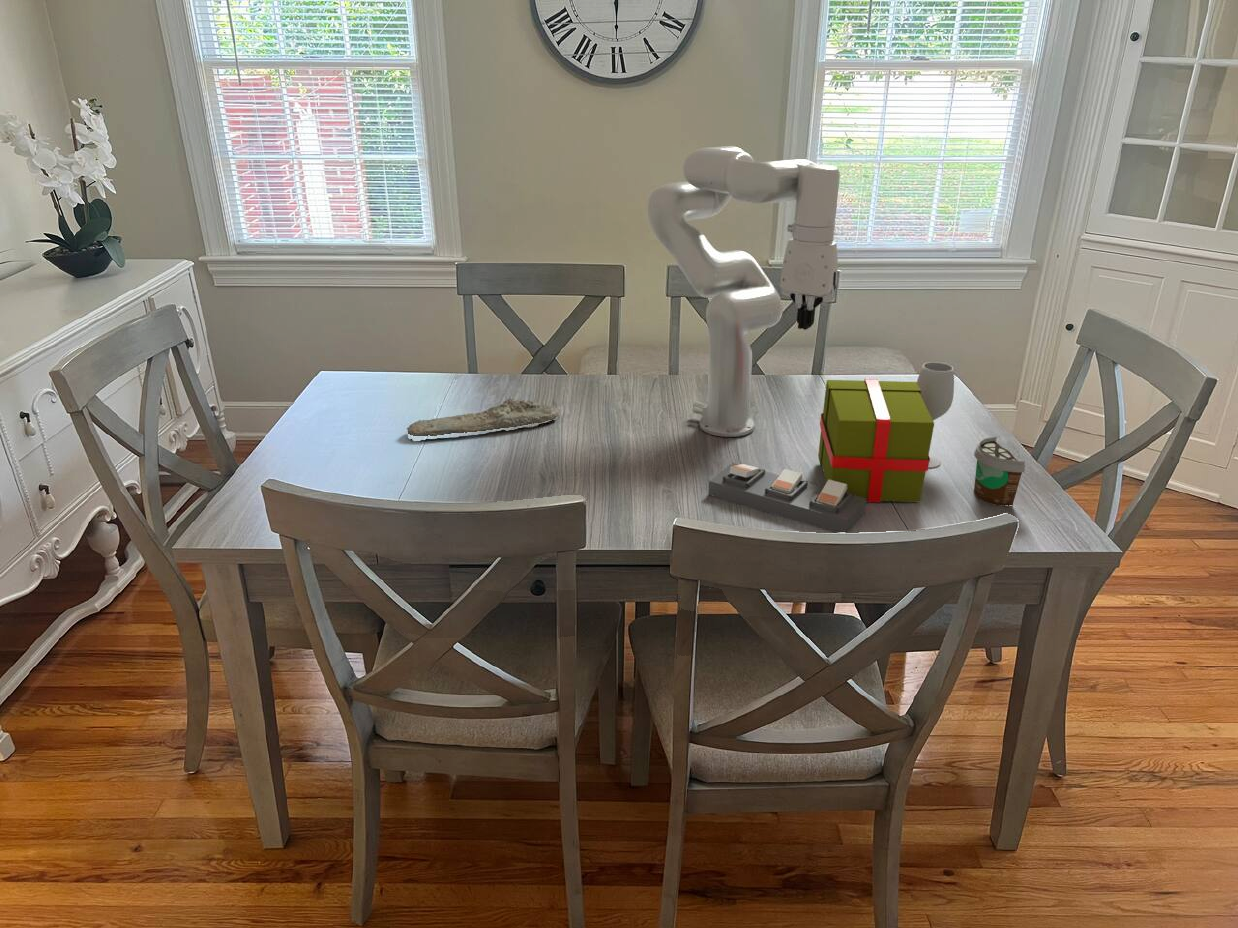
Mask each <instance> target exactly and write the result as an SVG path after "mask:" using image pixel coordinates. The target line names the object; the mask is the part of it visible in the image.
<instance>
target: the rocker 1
mask: <svg viewBox="0 0 1238 928" xmlns="http://www.w3.org/2000/svg"><path fill="white" fill-rule="evenodd" d="M739 464H740V463H739ZM759 468H760V467H757V466H752V465H750V464H749V465H748V464H744V463H741V464H740V465H735V466H732V467H730V472H729V473H731V474H735V475H739V476H742V477H750V476H753V475H756V474H758V472H759Z"/></svg>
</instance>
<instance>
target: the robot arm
mask: <svg viewBox="0 0 1238 928" xmlns="http://www.w3.org/2000/svg"><path fill="white" fill-rule="evenodd" d="M682 166H683V167H682V172H683V173H682V174H683V177H684V179H685V180H686V181H678V182H671V183H666V184H663V185H660V186H659V187H657V188H655V189H654V190H653V191H652V192H651V194H650V196H649V197H648V201H647V217H648V221H649V224H650V227H651V229H652V231H653V234H654V235H655V236H656V238H657V240H658V241H659V242H660V243H661V245H662V246H663V247H664V248H665V249H666V250H667V251H668V253H669V254H670V255H671V256H672V258H673V259H674V260H675V263H676V264H677V265H678V267H679V269H680V271H681V272H682V273H683V275H684V276H685V278H686V280H687V281H688V282H689V284H690V286H691V287H692V288H693V290H694V291H695V292H696V294H697V295H698V296H700V297H701V298H702V297H703V298H709V299H710V298H711V299H710V301H709V302H708V304H707V306H706V311H705V313H706V323H707V324H706V325H707V330H708V342H709V343H708V346H709V348H708V349H709V350H708V353H709V354H708V377H707V378H708V379H707V397H706V399H707V401H706V403H703V402H702V401H694V403H693V405H692V413H693V414H697V415H698V414H699V415H701V416H702V417H701V418H700V420H699V427H700V429H701V430H702V431H703V432H705V433H706V434H708V435H713V436H716V437H721V438H722V437H723V438H737V437H742V436H743V437H744V436H747V435H749V434H750V433H753V431H754V430H755V427H756V426H755V420H753V419H752V418H751V417H750V416H749V412H750V395H751V381H752V368H753V367H752V365H753V352H752V348H751V346H750V343H749V342H748V340H747V337H746V335H747V334H748V333H751V332H756V331H760V330H765V329H769V328H771V327H773V326H775V325H777V324H778V323H779V321H780V320H781V318H782V315H783V309H784V308H783V302H782V299H781V296H780V294H779V293H778V291H777V289H776V288H775V285H773V283H772V282H771V280H770V279H769V277H768V276H767V275H766V273H765V271H764V270H763V269H762V267H761V265H760V264H759V263H758V262H757V260H756V259H755V258H754V257H753V256H752V255H751V254H750V253H748V252H746V251H745V250H739V249H734V250H727V251H718V250H717V249H715V248H714V246H713V245H712V244H711V243H710V241H709V239H708V238H707V237H706V235H705V234H704V233H703V232H702V231H700V229H698V228H696V227H695V226H693V225H691V224H689V222H687V221H694V220H703V219H709V218H712V217H714V216H716V215H718V214H719V213H720V212H721V211H722V210H723V209H724V208H725V207H726V205H728V203H729V202H730V200H731V199H734V200H737V201H741V202H746V203H752V204H762V205H765V204H766V205H767V204H768V205H769V204H774V203H780V202H792V201H795V211H794V212H795V213H794V221H793V224H788V225H787V227H786V230H787V232H789V233H792V235H791V236H792V238H789V239H788V240H787V241H788V242H787V245H786V248H785V251H784V256H783V261H782V267H781V272H780V273H781V274H780V281H779V286H780V289H781V292H780V293H781V295H783V296H785V297H787V298H791V300H792V302H793V303H794V305H795V307H796V309H797V315H796V323H797V329H799V330H804V331H806V330H808V329H810V328H811V327H812V326H813V325H814V323H815V314H816V308H817V307H818V306H820V305H821V304H822V303H823V304H826V303H832V302H834V301H835V299H836V294H835V291H836V289H837V284H838V273H839V271H838V269H839V268H838V266H839V265H838V262H839V261H838V260H839V259H838V246H837V241H834V238H835V237H834V235H835V228H836V216H837V208H838V197H839V189H840V180H841V178H840V177H841V172H840V170H839V168H838V166H835V165H832V164H824V163H822V164H821V163H815V161H814V162H813V161H811V160H808V159H805V158H802V159H801V158H796V159H793V158H792V159H783V160H782V159H781V160H771V161H755V160H754V157H752V156H751V155H750V154H749V153H748V152H745V151H744V150H743V149H741V148H739V147H738V146H734V145H725V146H723V145H722V146H713V147H711V146H710V147H709V146H707V147H701V148H698V149H695V150H694V151H691V152H690V153H689V154H688V156H687V157H686V158H685V159H684V162H683V165H682ZM807 296H809V297H807Z"/></svg>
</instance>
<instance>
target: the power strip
mask: <svg viewBox="0 0 1238 928" xmlns="http://www.w3.org/2000/svg"><path fill="white" fill-rule="evenodd" d="M740 464H742V462H741V463H736V462H732V463H730V464H729V465H728V466H727V467H725V468H724V469H723V470H721V471H720V472H719V473H718V474H716V475H715V476H714V477H712V478H711V479H709V480H708V494H709V496H711V495H713V497H715V498H719V499H721V500H722V499H723V500H726V501H727V502H728V501H729V502H732V503H734V504H739V505H741V506H746V507H749V508H753V509H755V510H759V511H762V512H767V513H770V514H772V515H776V516H779V517H783V518H787V519H790V520H794V521H796V522H799V523H803V524H807V525H809V526H813V527H817V528H820V529H824V530H827V531H830V532H834V533H837V532H847V533H849V531H850V530H851V529H852V528H853V527H854V526H855V524H856V523H857V522H858V521H859V520H860V519H861V518H862V516H864V514H866V507H867V501H866V500H867V499H866V498H862V497H858V496H855V495H853V493H849V492H845V494H844V495H843V497H842V499H841V501H840V503H839V504H838V506H837V507H834V506H830V505H826V504H823V503H819V502H817V501H816V500H817V499H818V497H819V495H820V493H821V492H822V490H823V488H824V486H820V485H818V484H813V483H809V482H808V480H805V479H801V480H800V482H799V483H798V485H797V486H796V488H795V489H794V490H793V492H792V493H791V494H787V493H784V492H780V491H776V490H773V489H772V485H773V484H774V482H775V481H776V480H777V478H778V477H779V476H780V474H776V473H773V472H769V471H766V470H765V469H763V468H760V467H758V468H759V472H758V474H756V475H753V476H750V477H742V476H739V475H735V474H731V473H729V472H730V467H732V466H735V465H740Z"/></svg>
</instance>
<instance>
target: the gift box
mask: <svg viewBox="0 0 1238 928" xmlns="http://www.w3.org/2000/svg"><path fill="white" fill-rule="evenodd" d="M824 393H825V394H824V401H823V409H822V410H823V411H822V413H820V417H819V419H820V420H819V427H820V434H819V435H820V439H819V446H818V461H819V465H820V467H822V472H823V477H824V480H825V484H826V483H827V481H828V479H829V480H833V481H837V482H840V483H844V484H847V490H846V492H849V493H853V495H855V496H858V497H862V498H866V499H867V500H866V503H873V504H874V502H875V503H876V504H877V503H880V504H881V502H899V503H900V502H903V503H904V502H905V503H906V502H907V503H921V498H922V494H923V493H922V491H923V488H924V482H925V477H926V472H928V470H929V468H928V466H929V462H930V458H929V454H930V451H931V444H932V438H933V434H934V428H935V427H934V426H935V422H934V420H932V417H931V415H930V413H929V411H928V409H927V407H926V405H925V403H924V401H923V399H922V397H921V395H920V394H921V390H920V388H919V386H918V384H917V381H897V380H896V381H894V380H892V381H891V380H890V381H889V380H888V381H887V380H878V379H877V378H864V380H857V379H856V380H855V379H854V380H853V379H852V380H850V379H849V380H848V379H846V380H845V379H827V380H826V384H825V391H824Z"/></svg>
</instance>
